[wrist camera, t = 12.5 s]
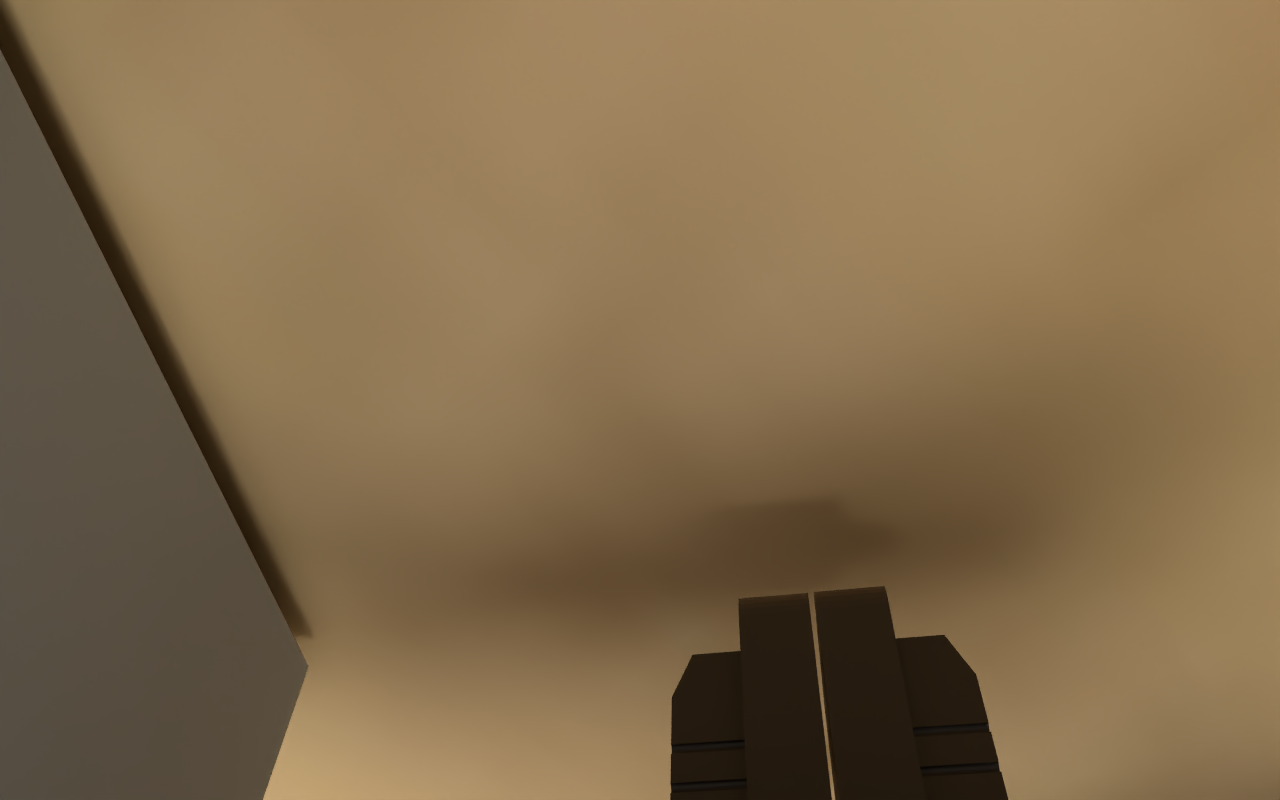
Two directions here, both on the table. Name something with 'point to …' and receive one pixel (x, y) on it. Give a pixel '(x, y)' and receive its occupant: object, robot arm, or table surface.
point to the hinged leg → (114, 538)
